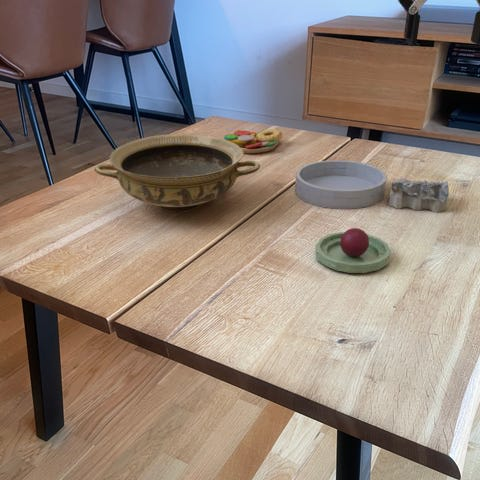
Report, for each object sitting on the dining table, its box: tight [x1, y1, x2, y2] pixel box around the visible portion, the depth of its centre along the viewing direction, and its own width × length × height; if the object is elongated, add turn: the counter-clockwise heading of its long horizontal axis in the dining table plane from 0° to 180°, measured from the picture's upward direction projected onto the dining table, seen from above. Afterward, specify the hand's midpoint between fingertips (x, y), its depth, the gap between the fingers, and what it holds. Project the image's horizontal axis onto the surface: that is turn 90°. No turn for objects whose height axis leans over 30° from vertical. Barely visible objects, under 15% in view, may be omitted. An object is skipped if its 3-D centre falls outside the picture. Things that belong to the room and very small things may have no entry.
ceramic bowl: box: [94, 133, 261, 213], centre depth 103 cm, size 30×24×10 cm
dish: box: [294, 159, 388, 210], centre depth 109 cm, size 17×18×4 cm
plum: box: [340, 227, 369, 257], centre depth 85 cm, size 4×4×4 cm
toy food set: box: [223, 128, 283, 154], centre depth 134 cm, size 13×13×3 cm
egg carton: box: [388, 178, 450, 213], centre depth 103 cm, size 11×8×4 cm
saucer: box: [315, 231, 392, 274], centre depth 86 cm, size 11×11×2 cm
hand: (443, 43), depth 82 cm, fingers open, 9 cm apart
